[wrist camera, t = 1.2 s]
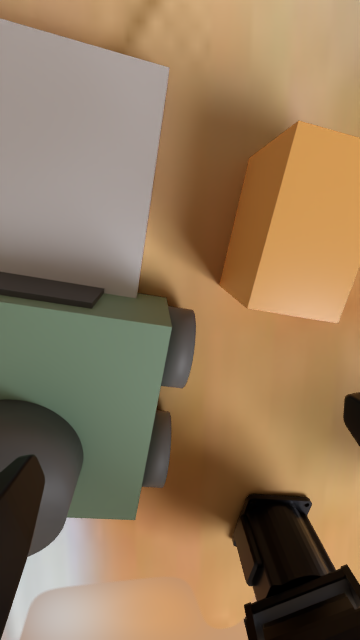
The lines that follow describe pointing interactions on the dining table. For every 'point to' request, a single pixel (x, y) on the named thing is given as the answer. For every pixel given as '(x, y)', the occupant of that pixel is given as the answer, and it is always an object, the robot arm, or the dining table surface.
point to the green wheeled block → (82, 277)
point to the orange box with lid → (298, 225)
